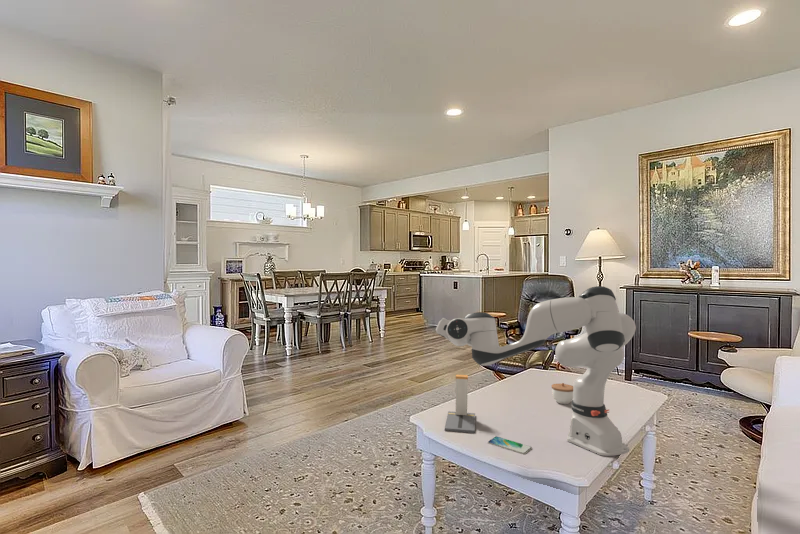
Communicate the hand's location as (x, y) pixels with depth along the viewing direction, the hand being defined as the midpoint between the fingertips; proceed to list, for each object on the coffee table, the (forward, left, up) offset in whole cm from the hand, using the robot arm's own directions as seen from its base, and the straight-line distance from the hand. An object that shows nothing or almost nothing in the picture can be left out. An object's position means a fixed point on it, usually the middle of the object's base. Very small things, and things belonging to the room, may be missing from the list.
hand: (460, 338), depth 178 cm
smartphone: (-21, -10, -38) cm, 44 cm away
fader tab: (+11, -7, -36) cm, 39 cm away
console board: (+5, -3, -37) cm, 38 cm away
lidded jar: (+14, -64, -38) cm, 76 cm away
